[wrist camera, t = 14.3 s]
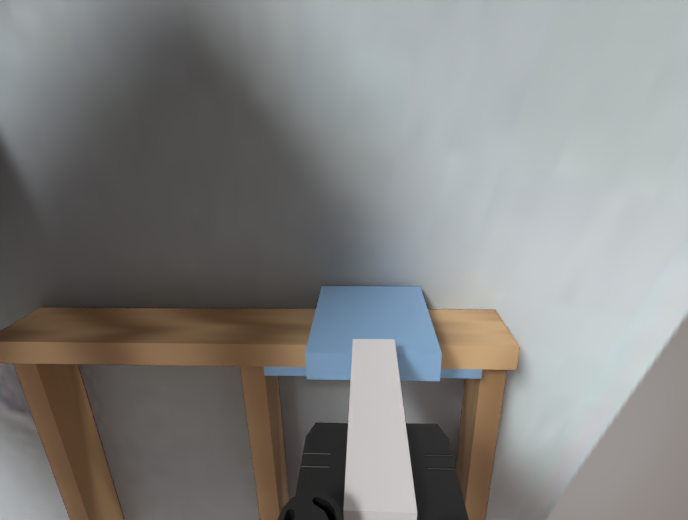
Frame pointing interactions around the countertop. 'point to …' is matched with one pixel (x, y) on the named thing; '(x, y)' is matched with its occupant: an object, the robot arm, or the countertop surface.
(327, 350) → the tab
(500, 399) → the rack
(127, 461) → the countertop surface
